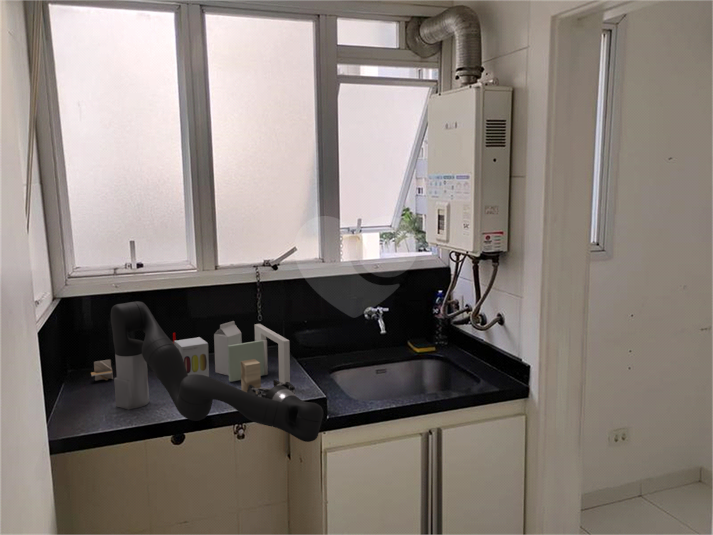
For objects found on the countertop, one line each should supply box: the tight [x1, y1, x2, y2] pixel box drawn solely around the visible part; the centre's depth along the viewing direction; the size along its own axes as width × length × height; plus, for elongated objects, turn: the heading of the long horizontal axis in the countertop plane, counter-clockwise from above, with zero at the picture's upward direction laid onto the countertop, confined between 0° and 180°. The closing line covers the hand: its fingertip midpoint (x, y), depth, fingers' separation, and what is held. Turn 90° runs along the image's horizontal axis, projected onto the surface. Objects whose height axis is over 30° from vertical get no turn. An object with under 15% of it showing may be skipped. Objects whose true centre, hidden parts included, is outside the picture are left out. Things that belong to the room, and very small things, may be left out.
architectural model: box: [90, 359, 114, 382], centre depth 203 cm, size 3×7×7 cm, turn 118°
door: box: [228, 339, 269, 382], centre depth 205 cm, size 15×3×13 cm, turn 122°
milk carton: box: [213, 320, 243, 377], centre depth 211 cm, size 7×7×19 cm
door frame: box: [254, 323, 291, 384], centre depth 202 cm, size 26×2×18 cm, turn 32°
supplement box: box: [174, 336, 210, 377], centre depth 195 cm, size 10×9×17 cm
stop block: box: [240, 359, 262, 393], centre depth 191 cm, size 5×5×11 cm
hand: (262, 385), depth 183 cm, fingers open, 8 cm apart
